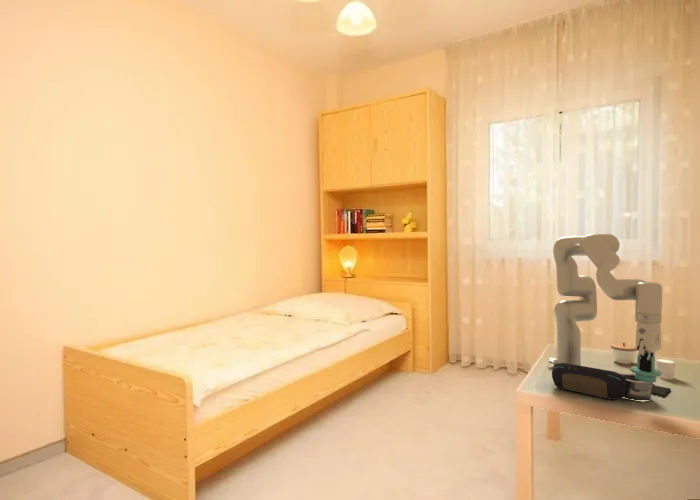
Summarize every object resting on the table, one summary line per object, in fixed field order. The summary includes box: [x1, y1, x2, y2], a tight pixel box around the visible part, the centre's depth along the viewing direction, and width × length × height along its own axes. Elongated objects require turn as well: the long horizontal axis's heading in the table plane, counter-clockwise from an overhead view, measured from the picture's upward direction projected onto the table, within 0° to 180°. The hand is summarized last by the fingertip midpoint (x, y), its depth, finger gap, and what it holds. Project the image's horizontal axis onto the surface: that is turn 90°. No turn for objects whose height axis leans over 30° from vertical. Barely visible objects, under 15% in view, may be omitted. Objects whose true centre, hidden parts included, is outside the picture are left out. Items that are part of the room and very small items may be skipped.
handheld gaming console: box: [651, 383, 671, 398], centre depth 166 cm, size 12×7×10 cm
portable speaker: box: [551, 363, 627, 400], centre depth 164 cm, size 25×10×10 cm, turn 48°
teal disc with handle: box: [630, 354, 661, 383], centre depth 150 cm, size 9×9×8 cm
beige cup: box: [655, 358, 676, 380], centre depth 183 cm, size 7×7×7 cm
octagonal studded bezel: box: [621, 373, 654, 400], centre depth 160 cm, size 10×10×7 cm
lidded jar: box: [610, 342, 638, 365], centre depth 205 cm, size 11×11×9 cm
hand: (646, 369), depth 150 cm, fingers closed on teal disc with handle
